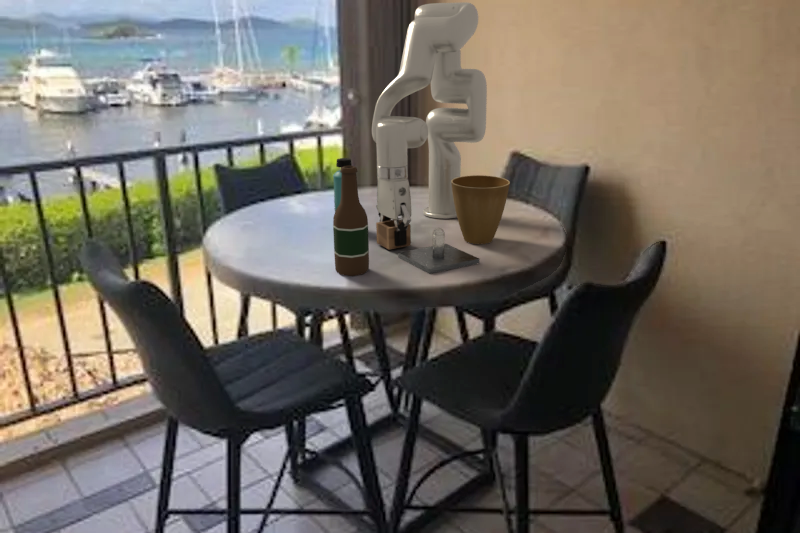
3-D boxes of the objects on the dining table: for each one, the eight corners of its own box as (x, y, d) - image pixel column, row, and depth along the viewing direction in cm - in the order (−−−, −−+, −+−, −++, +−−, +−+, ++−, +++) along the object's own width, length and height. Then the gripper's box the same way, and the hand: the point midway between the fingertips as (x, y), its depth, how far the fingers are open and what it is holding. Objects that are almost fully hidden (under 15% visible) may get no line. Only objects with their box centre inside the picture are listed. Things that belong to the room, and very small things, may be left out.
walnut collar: (398, 238, 165) (397, 218, 163) (410, 245, 160) (410, 224, 158) (376, 243, 162) (376, 222, 160) (388, 249, 157) (388, 228, 155)
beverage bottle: (354, 233, 173) (352, 160, 166) (331, 232, 174) (328, 160, 168) (361, 227, 179) (359, 156, 172) (338, 225, 180) (335, 156, 174)
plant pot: (440, 236, 169) (441, 178, 164) (488, 230, 175) (490, 173, 170) (467, 252, 156) (469, 189, 151) (517, 244, 162) (521, 183, 157)
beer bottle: (335, 265, 147) (331, 164, 139) (368, 264, 148) (366, 163, 140) (334, 277, 140) (330, 170, 132) (369, 276, 141) (367, 169, 133)
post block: (445, 248, 160) (446, 217, 157) (479, 263, 148) (480, 230, 146) (398, 257, 153) (398, 225, 150) (429, 273, 142) (429, 240, 139)
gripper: (424, 176, 150) (424, 248, 156) (388, 165, 164) (389, 231, 170) (396, 180, 146) (397, 253, 152) (362, 168, 160) (365, 235, 166)
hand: (393, 241), depth 161 cm, fingers closed on walnut collar, 6 cm apart
